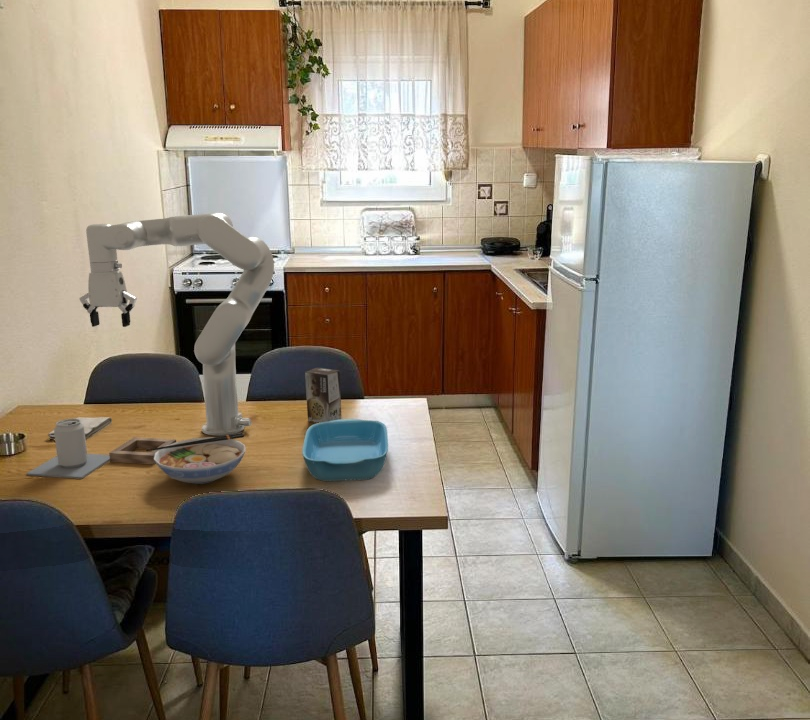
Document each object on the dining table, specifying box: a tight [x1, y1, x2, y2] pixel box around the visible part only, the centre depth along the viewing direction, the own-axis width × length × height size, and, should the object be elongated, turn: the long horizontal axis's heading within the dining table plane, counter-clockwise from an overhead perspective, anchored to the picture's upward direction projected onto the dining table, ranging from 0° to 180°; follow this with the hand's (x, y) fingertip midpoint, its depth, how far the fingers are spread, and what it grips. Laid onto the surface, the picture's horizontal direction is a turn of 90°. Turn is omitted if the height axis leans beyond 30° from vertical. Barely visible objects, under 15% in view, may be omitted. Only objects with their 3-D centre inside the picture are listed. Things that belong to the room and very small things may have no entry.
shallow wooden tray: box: [108, 436, 177, 465], centre depth 222 cm, size 13×13×2 cm
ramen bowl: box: [145, 432, 246, 485], centre depth 203 cm, size 25×23×8 cm
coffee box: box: [304, 367, 343, 423], centre depth 248 cm, size 9×6×16 cm
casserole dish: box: [301, 418, 389, 482], centre depth 214 cm, size 37×22×7 cm, turn 3°
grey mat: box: [26, 453, 110, 480], centre depth 215 cm, size 16×16×1 cm
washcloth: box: [47, 416, 113, 440], centre depth 243 cm, size 12×18×3 cm, turn 174°
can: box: [53, 418, 88, 468], centre depth 213 cm, size 8×8×12 cm
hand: (111, 325), depth 234 cm, fingers open, 9 cm apart
